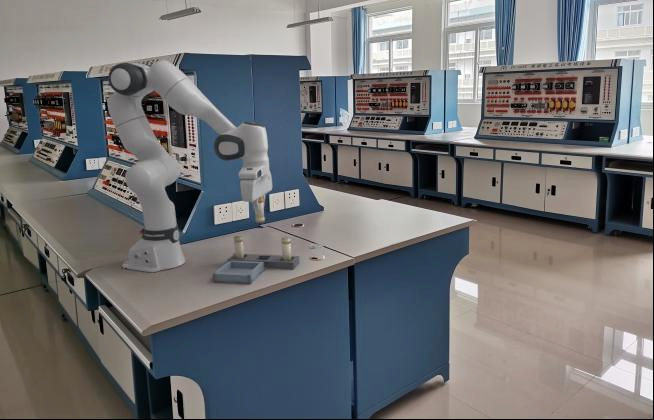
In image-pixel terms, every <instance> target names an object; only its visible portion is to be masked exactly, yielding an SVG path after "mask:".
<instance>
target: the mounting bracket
mask: <svg viewBox="0 0 654 420" xmlns="http://www.w3.org/2000/svg"><path fill="white" fill-rule="evenodd" d="M308 246H309V249H310V250H314V249H317V248H319V249H321V248H323V247H324V246H325V244H320V243H311V244H309V245H308Z"/></svg>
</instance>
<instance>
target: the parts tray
mask: <svg viewBox="0 0 654 420" xmlns="http://www.w3.org/2000/svg"><path fill="white" fill-rule="evenodd" d="M265 270H266V268H265V266H264V262H252V261H230V260H229V261H228V262H225V263H224V264H223V265H221V267H219V268H218V269H217V270H215V271H214V272H213V273H212V275H213V277H212V278H213V283H221V284H240V285H251V284H253V283H254V282H255V281H256V279H257V278H259V276H261V274H263V273H264V271H265ZM265 272H266V271H265Z"/></svg>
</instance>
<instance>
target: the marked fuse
mask: <svg viewBox="0 0 654 420" xmlns="http://www.w3.org/2000/svg"><path fill="white" fill-rule="evenodd" d="M258 204H259V205H260V209H259V210H258V211H254V214H255V218H254V219H255V223H258V224H260V223H264V222H265V218H266V217H265V211H264V209H265V208H264V207H265V206H264V207H263V196H261V197H259V198H258Z"/></svg>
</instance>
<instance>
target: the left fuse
mask: <svg viewBox="0 0 654 420" xmlns="http://www.w3.org/2000/svg"><path fill="white" fill-rule="evenodd" d="M243 241H244V237H243V235H235V236H233V243H234V254H235V256H236V259H244V254H245V252H244V242H243Z"/></svg>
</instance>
